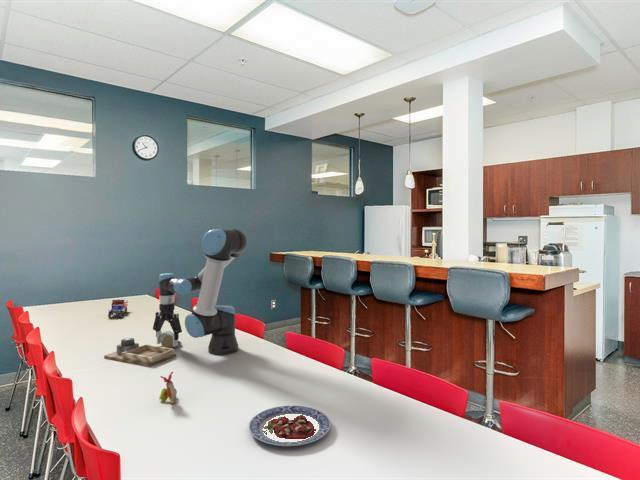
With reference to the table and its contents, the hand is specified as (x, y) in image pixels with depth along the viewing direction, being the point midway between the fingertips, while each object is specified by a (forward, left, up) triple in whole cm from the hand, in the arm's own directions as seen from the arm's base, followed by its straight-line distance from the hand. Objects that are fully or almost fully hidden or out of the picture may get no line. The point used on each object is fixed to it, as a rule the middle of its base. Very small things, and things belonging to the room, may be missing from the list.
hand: (167, 344), depth 214 cm
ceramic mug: (-1, -2, -1) cm, 2 cm away
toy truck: (+87, -44, -2) cm, 98 cm away
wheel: (+9, +17, 0) cm, 20 cm away
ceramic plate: (-99, +50, -2) cm, 111 cm away
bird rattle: (-50, +50, -2) cm, 71 cm away
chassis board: (0, +17, -1) cm, 18 cm away
